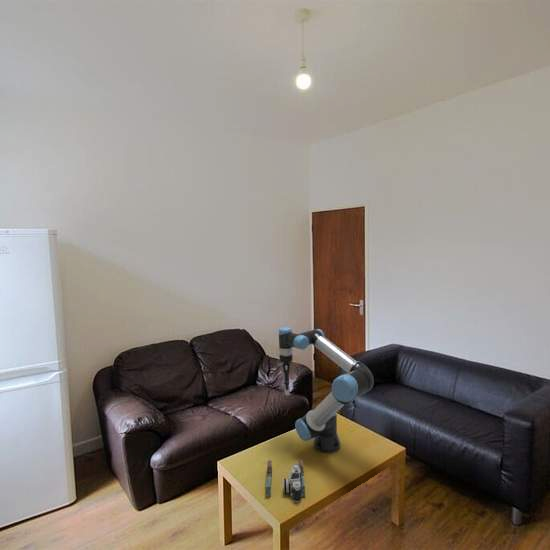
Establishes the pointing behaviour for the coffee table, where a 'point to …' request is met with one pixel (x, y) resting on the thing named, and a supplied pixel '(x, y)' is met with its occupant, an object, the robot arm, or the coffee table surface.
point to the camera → (293, 484)
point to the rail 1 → (269, 479)
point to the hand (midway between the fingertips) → (286, 389)
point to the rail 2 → (302, 478)
